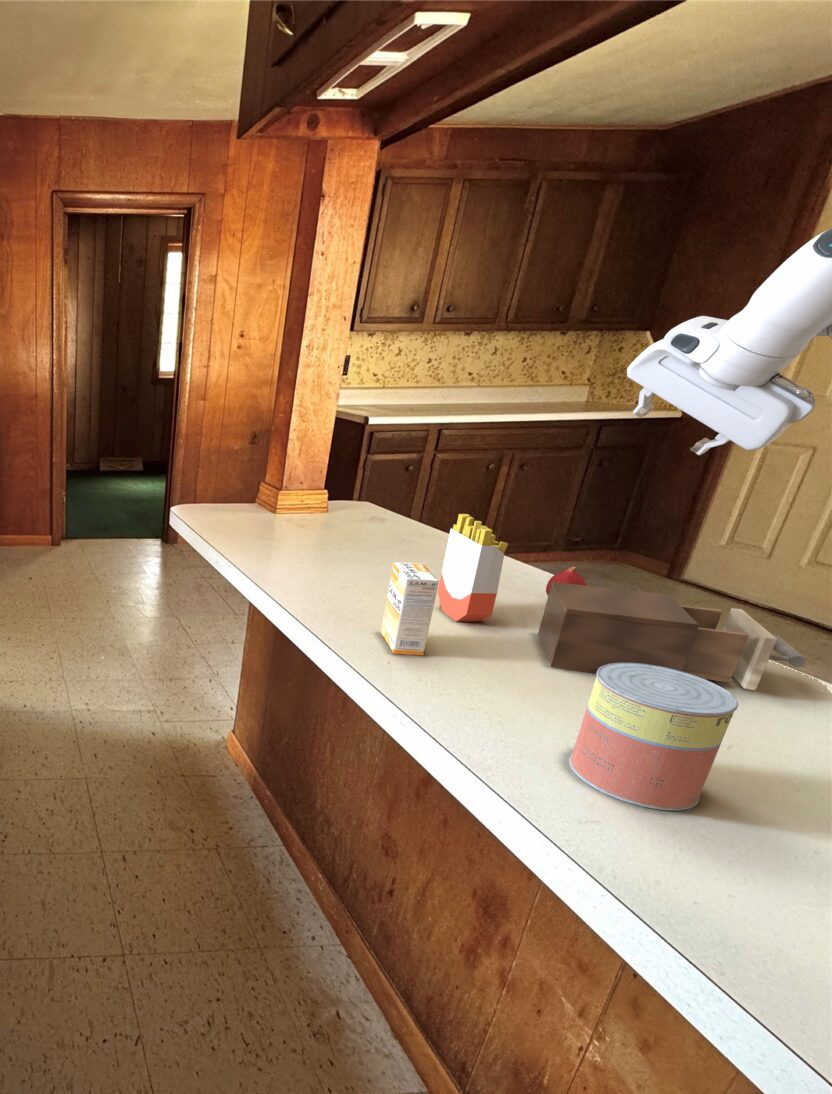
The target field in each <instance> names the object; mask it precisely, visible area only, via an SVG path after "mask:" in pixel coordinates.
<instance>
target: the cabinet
mask: <svg viewBox="0 0 832 1094" xmlns="http://www.w3.org/2000/svg"><path fill="white" fill-rule="evenodd" d="M680 605H681V604H679V602H677V600H676V599H674V597H673V596H672V595H671V594H668V593H659V592H650V591H639V590H632V589H630V590H629V589H622V588H612V587H603V586H594V585H587V586H585V585H576V584H567V583H557V582H552V584H551V588H550V591H549V595H548V596H547V599H546V602H545V606H544V610H543V613H542V616H541V617H542V618H541V621H540V624H539V628H538V632H537V638H538V640H539V643H540V645H541V647H542V650H543V652H544V654H545V657H546V659H547V662H548V664H549V667H551V668H555V669H563V670H568V671H575V672H582V673H590V674H595V675H597V671H598V669H599V668H600V667H602V666H604V665H607V664H611V663H641V664H649V665H655V666H661V667H665V668H670V669H674V670H678V671H682V670H683V667H684V664H685V661H686V659H687V656H688V653H689V651H690V648H691V645H692V642H693V640H694V637H695V634H696V632H697V629H698V626H699V624H698V623H697V622H696V621H695V620H694V619H693V618H692V617H691V616H690V615H689V614H688V613H687V612H686V611H685V610H684V609H683V608H682V607H681V606H680Z"/></svg>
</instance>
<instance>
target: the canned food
mask: <svg viewBox="0 0 832 1094" xmlns="http://www.w3.org/2000/svg"><path fill="white" fill-rule="evenodd" d="M738 708H739V701H738V699H737V698H736V697H735V696H734V695H733V694H732V693H731V692H730V691H728V690H727V689H725V688H723V687H722V686H721V685H718V684H716V683H715V682H712V681H711V680H709V679H703V678H700V677H697V676H694V675H691V674H688V673H685V672H682V671H678V670H674V669H670V668H665V667H661V666H655V665H649V664H641V663H611V664H607V665H604V666H602V667H600V668H599V669H598V671H597V674H596V677H595V681H594V684H593V686H592V690H591V693H590V697H589V699H588V703H587V705H586V709H585V712H584V715H583V718H582V721H581V725H580V727H579V732H578V734H577V738H576V741H575V743H574V746H573V749H572V753H571V754H570V756H569V759H568V764H569V767H570V769H571V771H573V773H574V774H575V776H578V778H580V779H581V781H583V782H584V783H586V784H587V785H589V786H590V787H592V788H594V789H595V790H597V791H599V792H601V793H603V794H605V795H607V796H609V797H611V798H614V799H617V800H620V801H622V802H625V803H628V804H631V805H635V806H638V807H643V808H647V809H653V810H658V811H669V812H670V811H671V812H673V811H675V812H676V811H684V810H690V809H692V808H694V807H695V806H697V805H698V803H699V801H700V799H701V798H700V795H701V793H702V791H703V789H704V787H705V783H706V781H707V779H708V776H709V774H710V772H711V770H712V766H713V764H714V762H715V759H716V757H717V755H718V752H719V750H720V747H721V745H722V742H723V740H724V737H725V735H726V732H727V730H728V728H729V726H730V724H731V721H732V718H733V716H734V713H735V711H736V710H737V709H738Z"/></svg>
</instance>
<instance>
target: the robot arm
mask: <svg viewBox="0 0 832 1094" xmlns="http://www.w3.org/2000/svg"><path fill="white" fill-rule="evenodd" d="M816 337H829V339H830V340H832V228H830V229H827V230H825V231H823V232H821V233H820V234H817V235H815V237H813V238H811V239H810V240H809V241H807V242H806V243H805V244H804V245H802V246H801V247H800V248H799V249H797V250H796V251H795V252H794V253H793V254H791V255H790V256H789V257H788V258H787V259H786V260H785V261H783V263H782V264H780V265H779V267H777V268H776V269H775V270H774V271H773V273H771V275H769V277H767V279H765V280H764V282H762V284H761V285H760V286H759V287H757V289H756V290H755V292H754V293H753V294H752V295H751V298H750V299H749V301H748V303H747V304H746V306H745V307H744V308H743V309H742V310H740V311H739V312H738V313H736V314H734V315H733V316H731V317H730V318H729V319H724V318H719V317H718V318H717V317H712V316H708V315H700V316H696V317H693V318H691V319H688V320H686V321H683V322H682V323H679V324H678V325H676V326H675V327H673V328H671V329H670V330H669V331H668V332H667V333H666V334H665V336H664V337H663V338H662V339H660V340H658V341H656V342H653V343H652V344H650V345H649V346H648V347H646V348H645V349H644V350H643V351H641V353H640V354H639V355H638V356H636V358H635V359H634V360H633V361H632V362H631V363H630V364H629V366H628V367H627V368H626V377H627V378H629V379H630V380H631V381H633V382H635V383H636V384H638V385H640V386H641V387H643V388H642V389H641V390H640V391H639V396H638V403H637V406H636V407H635V408H634V409H633V410H632V414H633V415H635V416H637V417H638V418H640V419H642V418H644V417H646V416H647V415H649V414H650V413H651V411H652V410H653V409H655V407H656V405H654V404H653V403H652V399H653V395H656V396H658V397H659V398H661V399H662V400H664V401H666V402H667V403H669V404H671V405H672V406H674V407H676V408H677V409H679V410H680V411H682V412H684V413H686V414H687V415H689V416H690V417H692V418H694V419H695V420H696V421H699V422H700V423H702V424H703V425H705V426H707V427H708V428H710V429H711V430H713V431H714V432H717V433H718V434H717V435H716V436H715V437H714V439H712V440H711V439H710V438H707V437H704V438H702V439H701V440H699V441H697V442H696V443H695V444H694V445H693V446H692V447H690V449H689V450H690V451H691V452H692V453H695V454H696V455H698V456H701V455H703V454H705V453H706V452H707V451H709V450H710V449H711V448H714V447H718V446H721V445H724V444H727V443H729V442H733V443H734V444H736V445H737V446H739V447H741V448H743V449H744V450H746V451H755V450H756V451H757V450H761V449H763V448H766V447H768V445H770V444H772V443H773V442H775V440H777V439H778V438H779V437H780V436H781V435H783V434H784V432H785V431H786V430H787V429H788V428H789V427H790V426H791V425H792V424H794V423H795V424H796V423H798V422H800V421H803V420H804V419H805V418H807V416H809V414H811V413H812V412H813V411H814V410H815V408H816V406H817V405H816V404H817V403H816V399H815V397H814V396H813V394H814V392H812V391H811V389H808V388H806V387H804V386H803V387H802V386H801V385H800V384H797V383H796V382H795V381H793V380H792V379H790V378H788V377H787V376H785V375H783V374H781V372H782V371H784V369H785V368H787V367H788V366H789V365H790V364H791V363H792V362H793V361H794V360H795V359H797V358H798V357H799V356H800V355H801V354H802V353H803V352H804V351H805V350H806V349H807V347H808V346H809V344H810V343H811V341H812V340H813V339H814V338H816Z"/></svg>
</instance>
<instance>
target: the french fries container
mask: <svg viewBox="0 0 832 1094" xmlns="http://www.w3.org/2000/svg"><path fill="white" fill-rule="evenodd" d="M457 516H458V517H457V521H456V523H454V524H453V526H452V527H450V530H449V534H448V540H447V545H446V549H445V553H444V554H445V555H444V558H443V564H442V569H441V573H440V578H439V584H438V589H437V596H438V601H439V603H440V604H439V605H440V609H441V611H442V612H444V613H445V614H446V615H447V616H449V618H450V619H452V620H454V621H455V622H469V623H471V622H472V623H473V622H474V623H475V622H476V623H481V622H483V621H484V620H486V619H487V618H489V617H491V616H493V612H494V608H495V603H496V600H497V595H498V591H499V583H500V579H501V574H502V568H503V563H504V559H505V552H506V550H507V547H508V546H509V543H507V542H504V541H500V542H499V541H497V540H496V539H497V536H496V534H493V529H491V528H488V526H487V525H482V524H483V523H482V521H481V520H475V518H474V517H472V516H471V515H470V514H468V513H458V515H457Z"/></svg>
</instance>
